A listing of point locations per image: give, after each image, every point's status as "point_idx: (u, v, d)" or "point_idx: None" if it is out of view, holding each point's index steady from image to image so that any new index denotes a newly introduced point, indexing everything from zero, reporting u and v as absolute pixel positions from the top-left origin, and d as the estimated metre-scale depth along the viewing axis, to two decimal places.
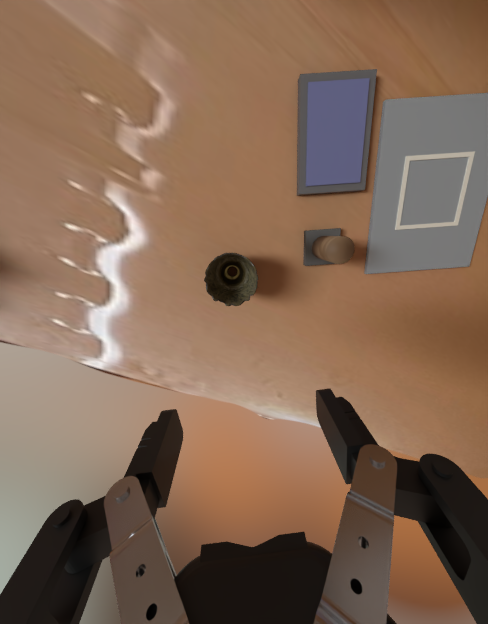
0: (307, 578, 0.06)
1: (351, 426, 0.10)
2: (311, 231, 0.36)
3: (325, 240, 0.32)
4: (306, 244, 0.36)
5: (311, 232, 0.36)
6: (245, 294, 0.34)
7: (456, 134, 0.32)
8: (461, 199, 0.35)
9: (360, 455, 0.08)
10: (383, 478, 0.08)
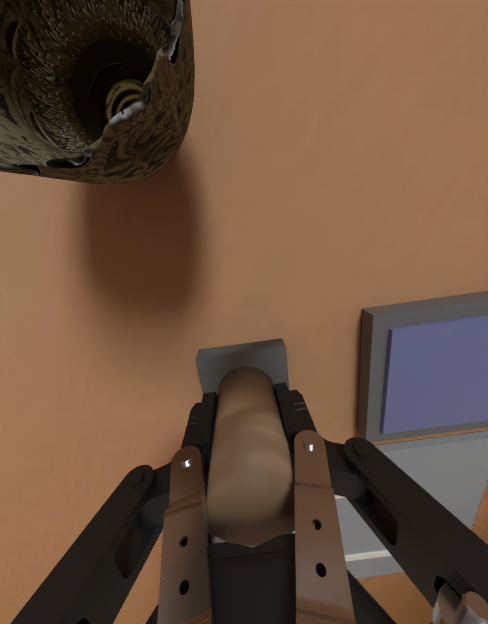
0: None
1: (295, 415, 0.11)
2: (284, 359, 0.14)
3: (275, 427, 0.10)
4: (251, 352, 0.14)
5: (280, 360, 0.14)
6: None
7: None
8: None
9: (295, 439, 0.09)
10: (317, 457, 0.09)
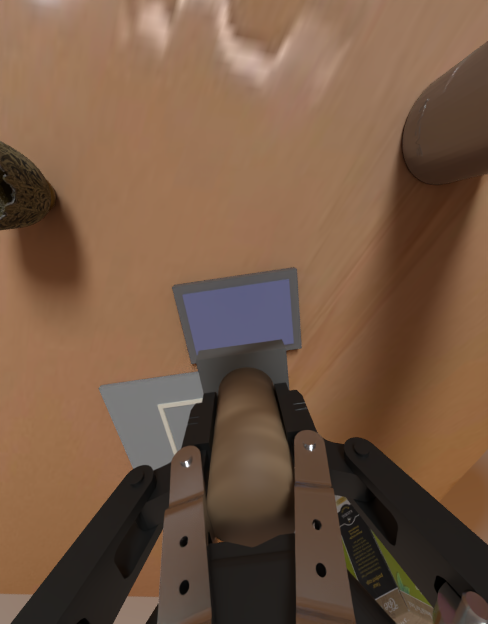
0: None
1: (295, 415, 0.11)
2: (284, 360, 0.14)
3: (275, 428, 0.10)
4: (251, 353, 0.14)
5: (281, 361, 0.14)
6: None
7: None
8: None
9: (295, 439, 0.09)
10: (317, 457, 0.09)
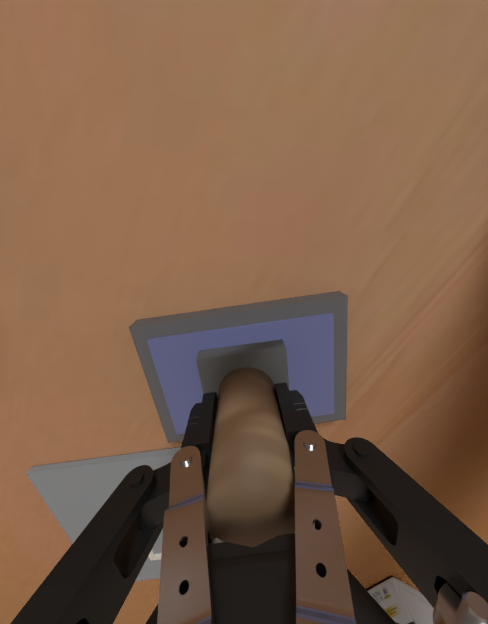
0: None
1: (295, 415, 0.11)
2: (284, 360, 0.14)
3: (275, 428, 0.10)
4: (251, 353, 0.14)
5: (281, 361, 0.14)
6: None
7: None
8: None
9: (295, 439, 0.09)
10: (317, 457, 0.09)
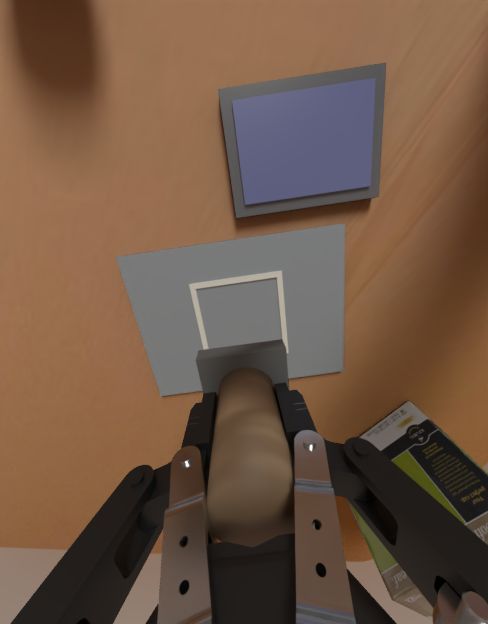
0: None
1: (295, 415, 0.11)
2: (284, 360, 0.14)
3: (276, 428, 0.10)
4: (251, 353, 0.14)
5: (281, 361, 0.14)
6: None
7: (305, 326, 0.27)
8: None
9: (295, 439, 0.09)
10: (317, 457, 0.09)
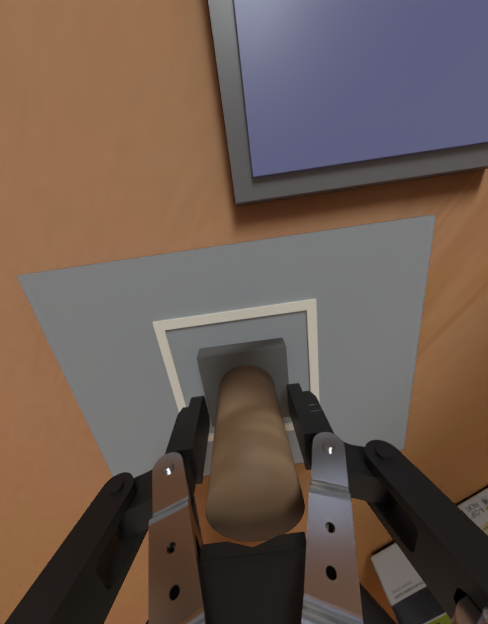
0: None
1: (311, 416, 0.11)
2: (284, 358, 0.14)
3: (276, 425, 0.10)
4: (251, 351, 0.14)
5: (281, 359, 0.14)
6: None
7: (350, 387, 0.16)
8: None
9: (314, 441, 0.09)
10: (335, 461, 0.08)
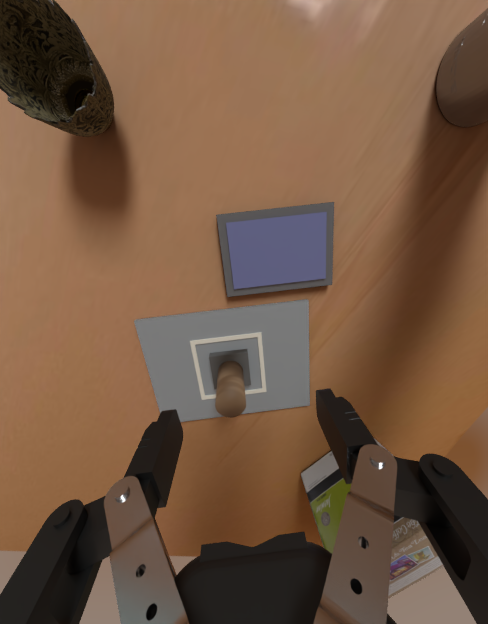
0: (307, 578, 0.06)
1: (351, 426, 0.10)
2: (247, 358, 0.32)
3: (239, 381, 0.28)
4: (233, 354, 0.32)
5: (245, 358, 0.32)
6: (32, 109, 0.19)
7: (280, 372, 0.35)
8: None
9: (360, 455, 0.08)
10: (383, 478, 0.08)
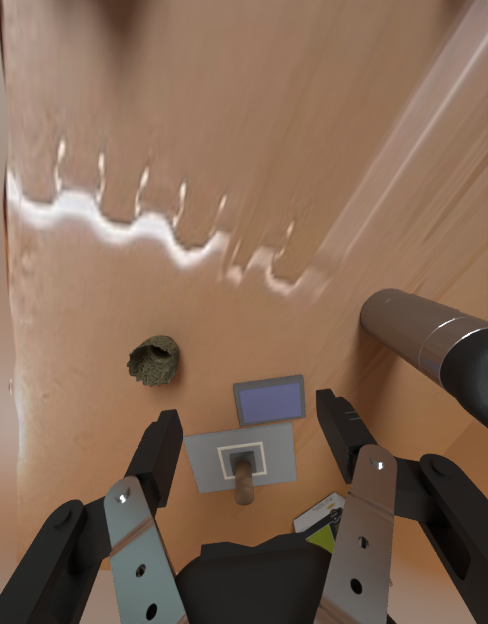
0: (307, 578, 0.06)
1: (351, 426, 0.10)
2: (253, 458, 0.50)
3: (249, 481, 0.47)
4: (244, 456, 0.50)
5: (252, 458, 0.50)
6: (143, 372, 0.37)
7: (275, 462, 0.53)
8: None
9: (360, 455, 0.08)
10: (383, 478, 0.08)
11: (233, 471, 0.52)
